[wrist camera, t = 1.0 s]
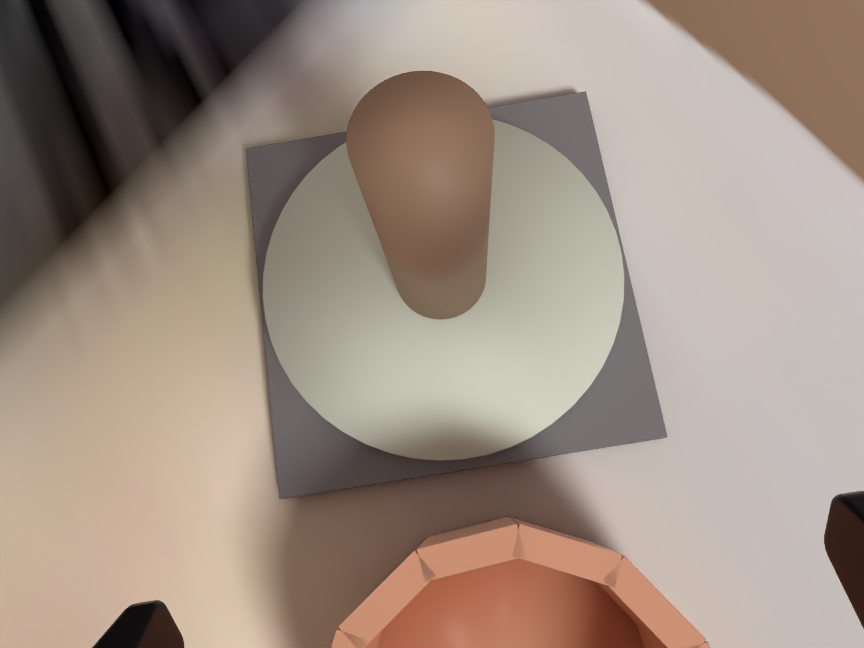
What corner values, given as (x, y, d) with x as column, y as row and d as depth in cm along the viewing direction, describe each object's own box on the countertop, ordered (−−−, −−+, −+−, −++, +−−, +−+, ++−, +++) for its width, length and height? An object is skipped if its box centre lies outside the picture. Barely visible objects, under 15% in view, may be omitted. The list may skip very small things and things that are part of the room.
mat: (662, 438, 22) (667, 437, 22) (284, 498, 23) (279, 498, 22) (583, 100, 26) (585, 91, 25) (251, 156, 26) (246, 148, 25)
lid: (437, 541, 22) (407, 583, 12) (200, 281, 24) (15, 140, 14) (694, 284, 23) (856, 132, 13) (445, 64, 26) (429, -197, 16)
